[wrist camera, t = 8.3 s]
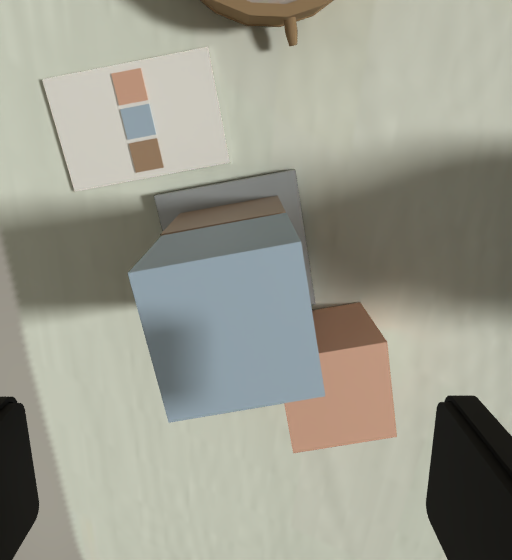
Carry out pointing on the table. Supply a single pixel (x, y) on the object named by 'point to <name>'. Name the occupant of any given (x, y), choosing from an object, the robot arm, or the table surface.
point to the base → (240, 193)
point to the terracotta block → (346, 384)
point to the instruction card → (138, 119)
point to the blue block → (228, 318)
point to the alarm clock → (268, 12)
